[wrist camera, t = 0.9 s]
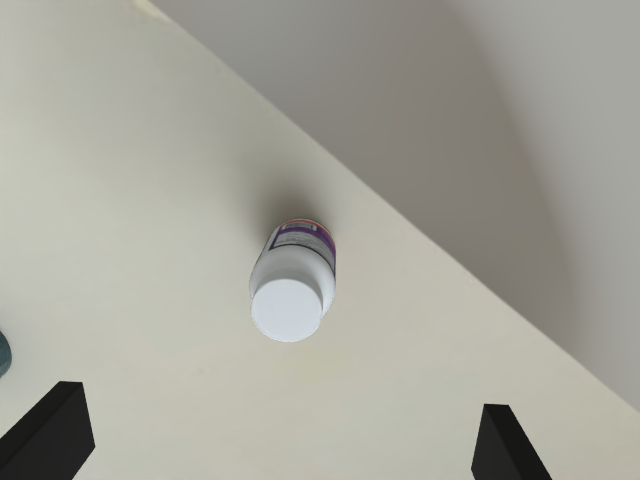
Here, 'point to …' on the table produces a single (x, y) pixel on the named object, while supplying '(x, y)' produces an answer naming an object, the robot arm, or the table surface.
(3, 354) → the cup
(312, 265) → the pill bottle
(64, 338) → the table surface
